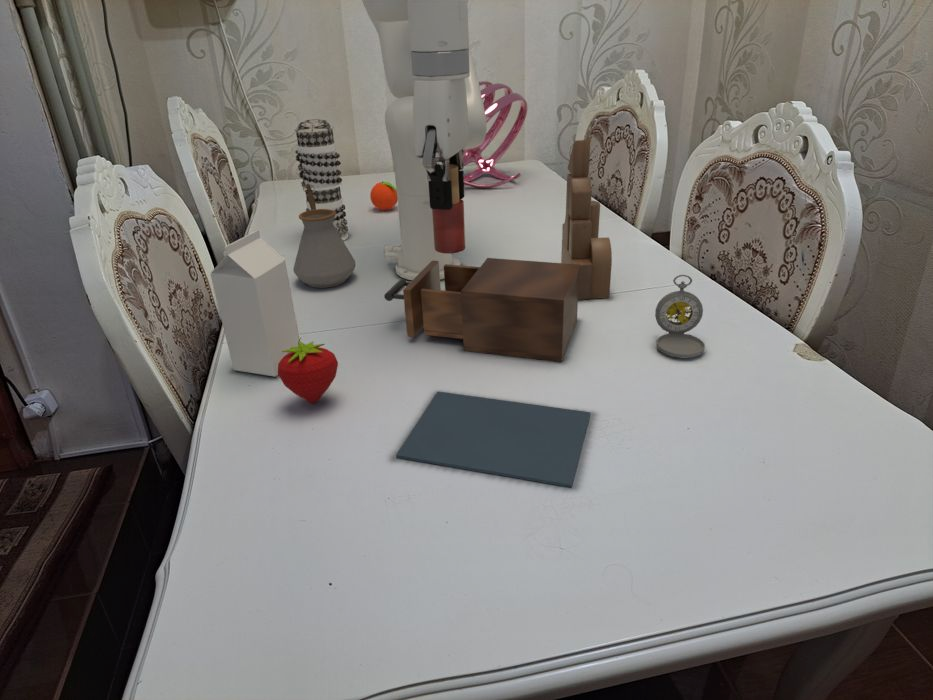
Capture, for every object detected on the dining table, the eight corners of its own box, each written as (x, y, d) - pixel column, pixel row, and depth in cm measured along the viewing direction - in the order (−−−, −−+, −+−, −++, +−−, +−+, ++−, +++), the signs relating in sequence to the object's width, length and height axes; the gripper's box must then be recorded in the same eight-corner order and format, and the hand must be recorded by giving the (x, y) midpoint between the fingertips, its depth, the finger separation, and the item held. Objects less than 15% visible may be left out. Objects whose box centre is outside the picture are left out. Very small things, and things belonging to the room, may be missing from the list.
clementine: (408, 208, 163) (405, 180, 160) (391, 215, 158) (388, 186, 155) (383, 204, 167) (380, 177, 164) (366, 211, 162) (362, 183, 159)
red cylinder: (430, 252, 95) (424, 170, 89) (440, 242, 98) (436, 162, 93) (459, 254, 93) (456, 171, 88) (469, 244, 97) (466, 163, 91)
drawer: (378, 333, 99) (373, 287, 96) (409, 301, 110) (405, 258, 106) (492, 346, 94) (491, 297, 90) (513, 311, 104) (512, 266, 101)
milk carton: (303, 354, 96) (280, 231, 87) (275, 378, 90) (248, 249, 81) (262, 348, 98) (236, 228, 89) (233, 371, 92) (202, 244, 83)
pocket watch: (679, 365, 89) (687, 298, 84) (638, 341, 96) (644, 278, 91) (722, 350, 92) (733, 285, 88) (679, 328, 99) (687, 266, 94)
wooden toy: (611, 298, 110) (622, 147, 98) (572, 300, 110) (578, 149, 98) (594, 266, 123) (602, 130, 111) (559, 267, 123) (563, 131, 111)
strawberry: (346, 409, 83) (335, 339, 78) (286, 420, 81) (271, 350, 76) (340, 386, 88) (330, 320, 83) (283, 396, 86) (270, 329, 81)
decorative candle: (300, 242, 143) (280, 124, 131) (323, 229, 150) (307, 117, 138) (335, 246, 139) (318, 125, 128) (357, 233, 147) (343, 118, 135)
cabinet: (463, 350, 95) (460, 290, 91) (488, 312, 107) (487, 257, 102) (561, 362, 91) (564, 300, 87) (576, 321, 102) (579, 264, 98)
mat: (396, 457, 73) (395, 454, 73) (437, 393, 85) (437, 391, 85) (571, 487, 68) (571, 484, 68) (590, 414, 79) (590, 412, 79)
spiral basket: (572, 108, 170) (497, 45, 174) (505, 153, 156) (426, 83, 160) (535, 180, 194) (471, 123, 198) (475, 224, 180) (407, 162, 184)
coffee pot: (361, 286, 119) (351, 206, 112) (298, 296, 116) (283, 214, 109) (346, 250, 137) (336, 179, 130) (291, 257, 134) (278, 185, 127)
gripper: (435, 59, 92) (442, 186, 101) (388, 73, 78) (400, 219, 87) (486, 58, 90) (488, 189, 99) (446, 72, 76) (453, 223, 85)
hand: (447, 202), depth 93 cm, fingers closed on red cylinder, 4 cm apart
